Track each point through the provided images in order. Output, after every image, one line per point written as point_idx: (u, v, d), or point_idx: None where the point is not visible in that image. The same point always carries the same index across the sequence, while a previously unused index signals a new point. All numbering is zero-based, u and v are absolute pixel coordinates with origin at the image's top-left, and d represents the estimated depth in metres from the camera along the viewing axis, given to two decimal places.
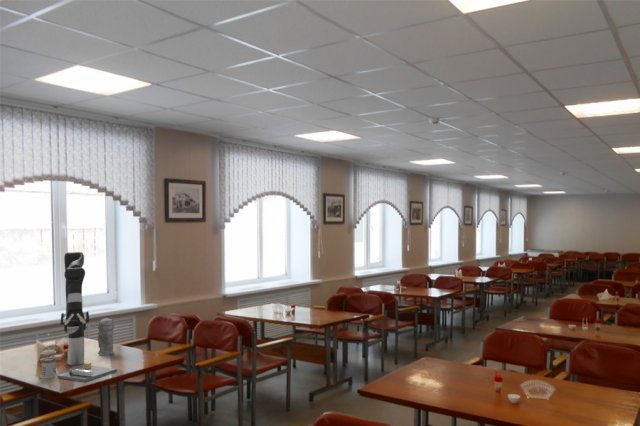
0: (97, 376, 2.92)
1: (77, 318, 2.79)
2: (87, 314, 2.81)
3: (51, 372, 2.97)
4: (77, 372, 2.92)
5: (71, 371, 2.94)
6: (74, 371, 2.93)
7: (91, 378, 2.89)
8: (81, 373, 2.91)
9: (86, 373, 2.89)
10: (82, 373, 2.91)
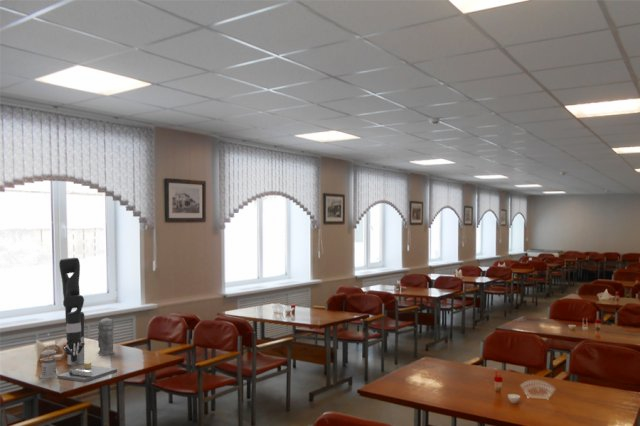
0: (97, 376, 2.92)
1: (74, 346, 2.84)
2: (82, 345, 2.89)
3: (51, 372, 2.97)
4: (77, 372, 2.92)
5: (71, 371, 2.94)
6: (74, 371, 2.93)
7: (91, 378, 2.89)
8: (81, 373, 2.91)
9: (86, 373, 2.89)
10: (82, 373, 2.91)
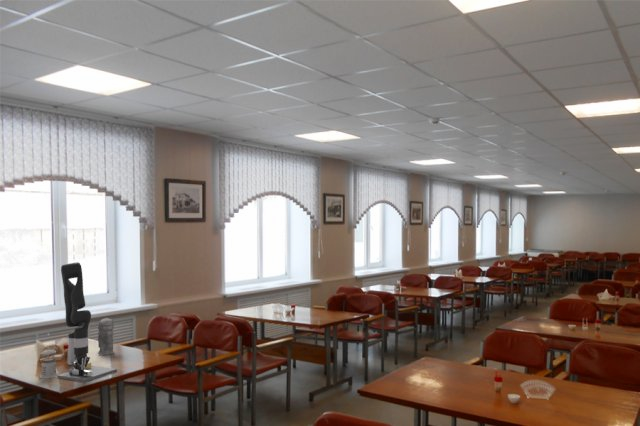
0: (97, 376, 2.92)
1: None
2: (88, 360, 2.93)
3: (51, 372, 2.97)
4: (77, 372, 2.92)
5: (71, 371, 2.94)
6: (74, 371, 2.93)
7: (91, 378, 2.89)
8: None
9: (86, 373, 2.89)
10: None
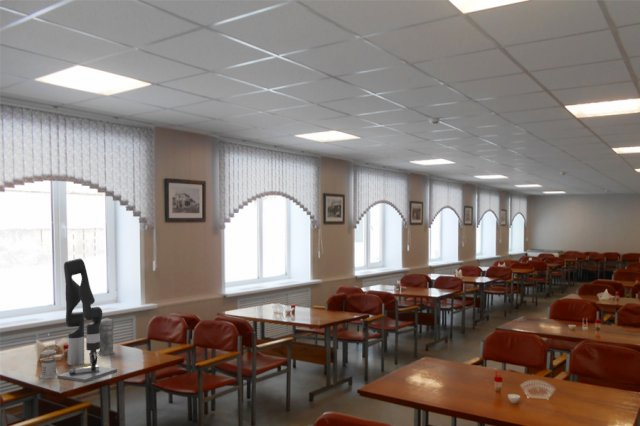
0: (97, 376, 2.92)
1: None
2: None
3: (51, 372, 2.97)
4: (84, 370, 2.97)
5: (74, 371, 2.95)
6: (78, 370, 2.96)
7: (91, 378, 2.89)
8: (89, 369, 2.99)
9: (97, 368, 3.01)
10: None
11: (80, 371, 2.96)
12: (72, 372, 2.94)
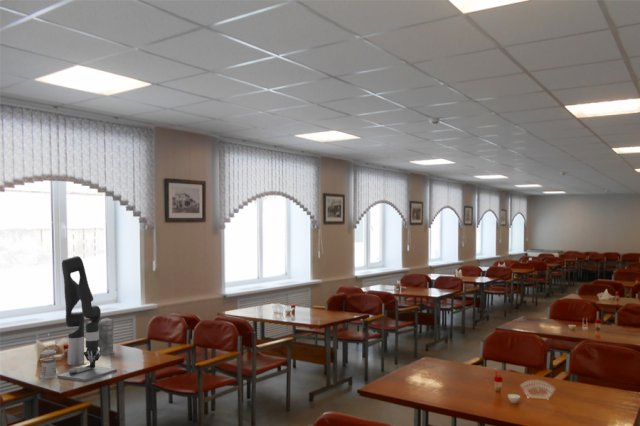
0: (97, 376, 2.92)
1: None
2: None
3: (51, 372, 2.97)
4: (83, 368, 3.01)
5: (76, 370, 2.96)
6: (79, 369, 2.98)
7: (91, 378, 2.89)
8: (87, 367, 3.03)
9: None
10: (88, 367, 3.04)
11: (80, 370, 2.99)
12: (74, 372, 2.95)
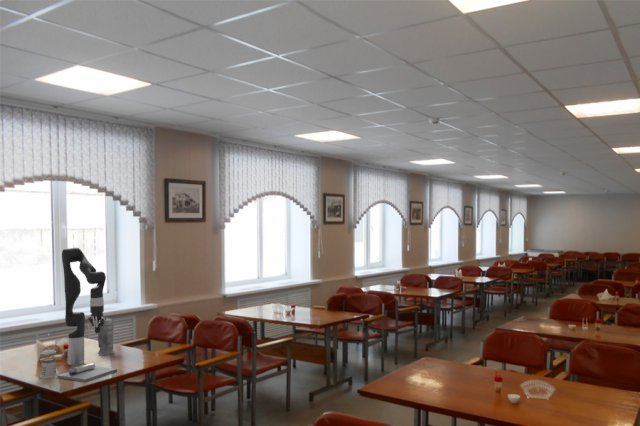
0: (97, 376, 2.92)
1: None
2: None
3: (51, 372, 2.97)
4: (83, 368, 3.01)
5: (76, 370, 2.96)
6: (79, 369, 2.98)
7: (91, 378, 2.89)
8: (87, 367, 3.03)
9: (93, 365, 3.07)
10: (88, 367, 3.04)
11: (80, 370, 2.99)
12: (74, 372, 2.95)
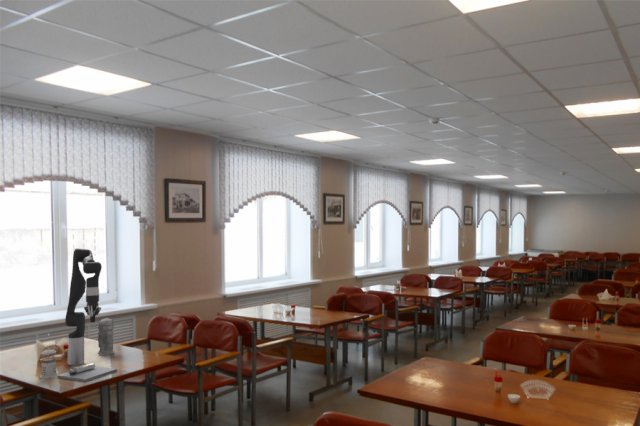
0: (97, 376, 2.92)
1: None
2: None
3: (51, 372, 2.97)
4: (83, 368, 3.01)
5: (76, 370, 2.96)
6: (79, 369, 2.98)
7: (91, 378, 2.89)
8: (87, 367, 3.03)
9: (93, 365, 3.07)
10: (88, 367, 3.04)
11: (80, 370, 2.99)
12: (74, 372, 2.95)
